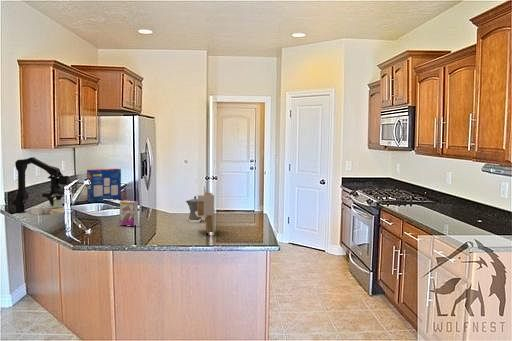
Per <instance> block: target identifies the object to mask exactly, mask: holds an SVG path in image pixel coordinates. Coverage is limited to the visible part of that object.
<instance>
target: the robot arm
mask: <svg viewBox="0 0 512 341" xmlns="http://www.w3.org/2000/svg"><path fill="white" fill-rule="evenodd" d="M31 164H33V165H35V166H36V167H39V168H40V169H42V170H44V171H45V172H46V173H47V174H49V176H48V177H47V179H50V185H49V188H50V191H49V192H42V193H41V196H42V197H41V198H46V199H47V201H49V205H50V204H51V205H52V206H53V200H55V199H57V200H60V201H61V200H62V198H63V197H64V196H65V195H64V188H65V187H63V188H61V186H63V185H64V186H70V184H71V179H70V177H69V175H63V173H62V172H61V169H60V168H59V167H57V166H53V165H49V164H48V163H45V162H43V161H41V160H39V159H37V157H33V156H31V157H29V158H25V159H23V158H22V159H17V160H16V161H15V163H14V165H15V168H16V171H17V186H18V187H17V193H16V195H15V199H14V200H13V201H12V202H11V203H12V205H13V207H14V211H12V213H15V214H22V213H23V214H24V213H26V212H27V210H25V204H26V203H27V201H28V200H29V199H30V198H29V193H30V192H27V190H26V171H27V169H28V165H31Z"/></svg>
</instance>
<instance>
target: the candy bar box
mask: <svg viewBox="0 0 512 341" xmlns="http://www.w3.org/2000/svg"><path fill="white" fill-rule="evenodd" d="M137 224H138V225H139V201H135V200H134V201H132V200H121V201H120V200H119V226H120V225H130V226H134V225H137Z"/></svg>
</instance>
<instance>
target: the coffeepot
mask: <svg viewBox="0 0 512 341" xmlns="http://www.w3.org/2000/svg"><path fill="white" fill-rule="evenodd" d="M185 202H186V203H187V205H188V206H189V216H188V220H189V219H190V220H199V219H201V220H202V217H197V215H196V214H195V211H198V198H197V195H196V196H194V197H193V199H188V200H185Z"/></svg>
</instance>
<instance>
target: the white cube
mask: <svg viewBox="0 0 512 341" xmlns="http://www.w3.org/2000/svg"><path fill="white" fill-rule="evenodd" d="M42 210H43V208H42V206H32V207H30V215H35V216H36V215H41V214H43V213H42V212H43V211H42Z"/></svg>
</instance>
